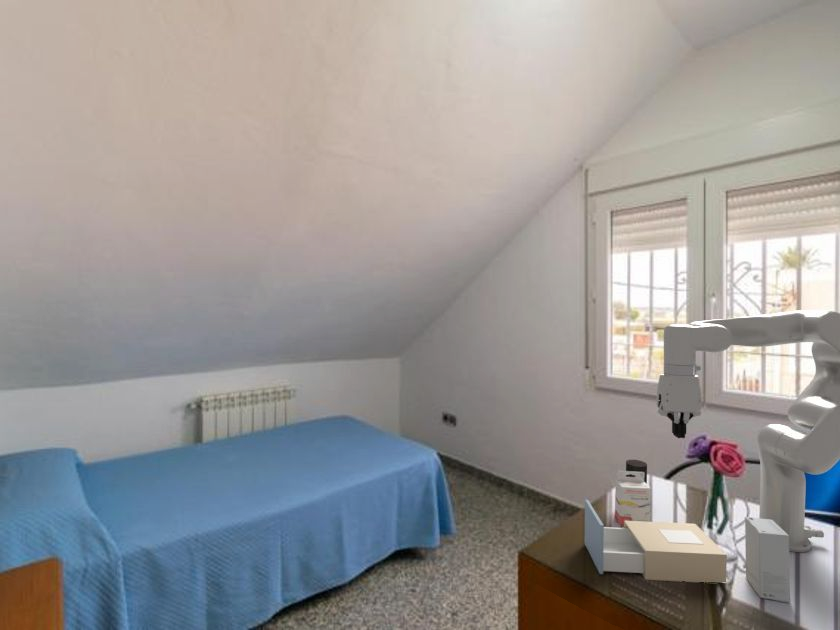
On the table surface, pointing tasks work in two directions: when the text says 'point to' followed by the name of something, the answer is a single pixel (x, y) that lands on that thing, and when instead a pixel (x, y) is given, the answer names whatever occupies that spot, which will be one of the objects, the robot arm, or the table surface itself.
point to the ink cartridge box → (632, 497)
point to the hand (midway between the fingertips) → (679, 436)
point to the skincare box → (767, 559)
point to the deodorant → (636, 468)
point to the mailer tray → (612, 545)
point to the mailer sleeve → (678, 552)
